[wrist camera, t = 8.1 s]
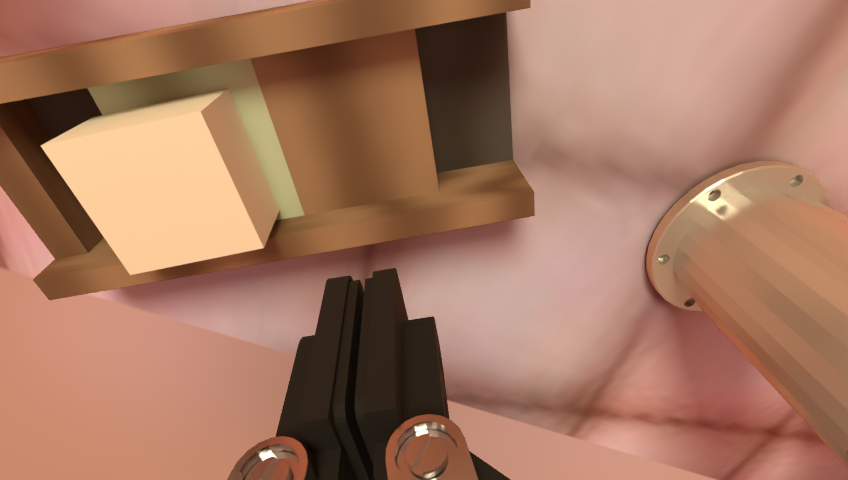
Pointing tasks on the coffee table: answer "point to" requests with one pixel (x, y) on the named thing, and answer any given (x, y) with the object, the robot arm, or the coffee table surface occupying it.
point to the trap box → (288, 125)
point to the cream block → (169, 181)
